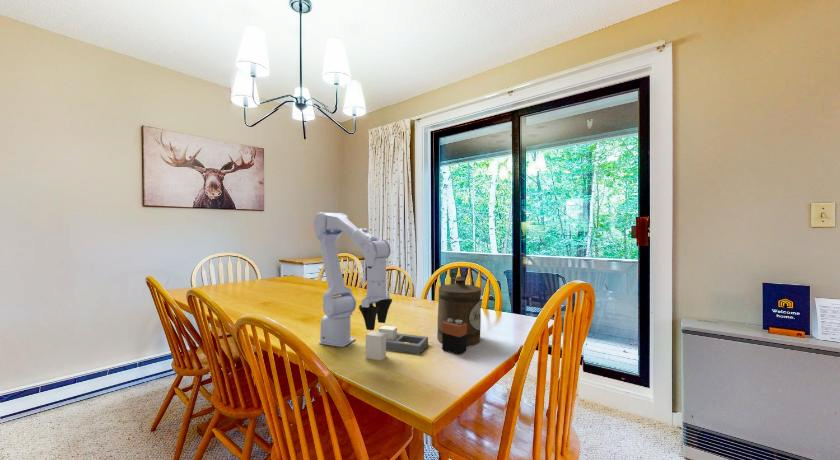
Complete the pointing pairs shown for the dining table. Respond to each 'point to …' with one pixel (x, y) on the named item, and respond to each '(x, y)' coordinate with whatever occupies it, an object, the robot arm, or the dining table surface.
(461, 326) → the battery
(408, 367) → the dining table surface
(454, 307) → the wooden container
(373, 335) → the plug
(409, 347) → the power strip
